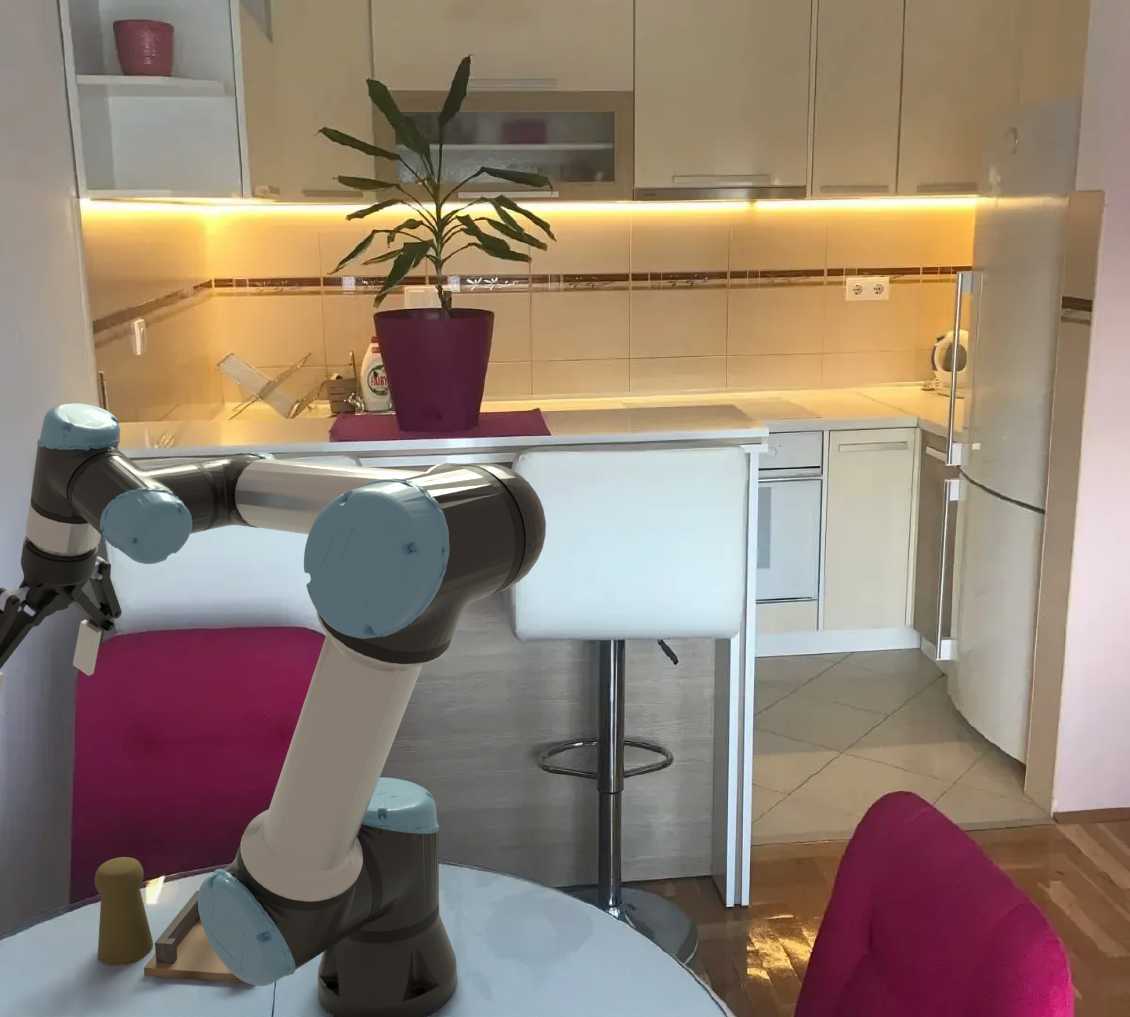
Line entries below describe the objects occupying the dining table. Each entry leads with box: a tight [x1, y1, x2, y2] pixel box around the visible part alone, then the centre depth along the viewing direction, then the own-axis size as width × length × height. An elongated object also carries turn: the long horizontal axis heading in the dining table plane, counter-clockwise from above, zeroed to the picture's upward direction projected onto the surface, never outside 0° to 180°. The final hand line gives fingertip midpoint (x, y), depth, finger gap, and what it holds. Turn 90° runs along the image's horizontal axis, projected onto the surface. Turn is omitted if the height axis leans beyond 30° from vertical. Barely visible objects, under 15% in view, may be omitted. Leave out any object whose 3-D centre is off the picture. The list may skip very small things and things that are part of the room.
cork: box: [94, 856, 154, 966], centre depth 129 cm, size 6×6×11 cm
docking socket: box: [143, 890, 247, 984], centre depth 131 cm, size 13×13×4 cm
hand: (36, 691), depth 131 cm, fingers open, 13 cm apart
